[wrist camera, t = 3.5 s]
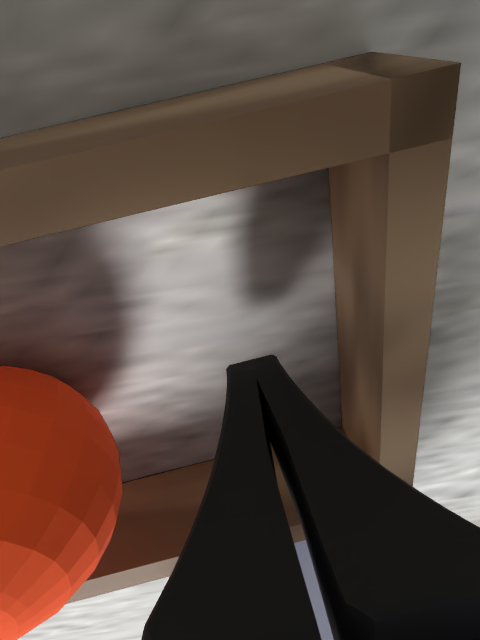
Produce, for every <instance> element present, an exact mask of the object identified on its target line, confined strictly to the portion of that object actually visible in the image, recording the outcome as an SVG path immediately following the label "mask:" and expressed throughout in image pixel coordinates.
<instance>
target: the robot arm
mask: <svg viewBox="0 0 480 640" xmlns="http://www.w3.org/2000/svg"><path fill="white" fill-rule="evenodd" d="M226 371H227V394H226V404H225V411H224V417H223V424H222V429H221V434H220V439H219V443H218V447H217V452H216V456H215V460H214V464H213V467H212V471H211V474H210V478H209V481H208V484H207V487H206V490H205V493H204V496H203V499H202V502H201V504H200V507H199V510H198V513H197V516H196V518H195V521H194V523H193V526H192V528H191V531H190V533H189V536H188V538H187V540H186V542H185V545H184V547H183V549H182V551H181V554H180V556H179V558H178V560H177V563H176V565H175V567H174V569H173V571H172V573H171V575H170V578H169V580H168V582H167V583H166V585H165V587H164V589H163V591H162V593H161V595H160V597H159V599H158V601H157V603H156V605H155V607H154V608H153V610H152V612H151V614H150V616H149V618H148V620H147V622H146V624H145V627H144V631H143V635H142V640H480V527H478V526H476V525H474V524H472V523H471V522H469V521H467V520H465V519H464V518H462V517H460V516H459V515H457V514H455V513H453V512H452V511H450V510H448V509H447V508H445V507H443V506H442V505H440V504H438V503H437V502H435V501H434V500H432V499H431V498H429V497H427V496H426V495H424V494H423V493H421V492H419V491H418V490H416V489H415V488H414V487H412V486H411V485H409V484H408V483H406V482H405V481H404V480H402V479H401V478H399V477H398V476H396V475H395V474H393V473H392V472H391V471H389V470H388V469H386V468H385V467H384V466H382V465H381V464H380V463H378V462H377V461H376V460H374V459H373V458H372V457H371V456H369V455H368V454H367V453H365V452H364V451H363V450H362V449H361V448H359V447H358V446H357V445H356V444H355V443H353V442H352V441H351V440H350V439H349V438H348V437H347V436H345V435H344V434H343V433H342V432H341V431H340V430H339V429H338V428H337V427H336V426H335V425H333V424H332V423H331V422H330V421H329V420H328V419H327V418H326V417H325V416H324V415H323V414H322V413H321V412H320V411H319V410H318V409H317V408H316V407H315V405H314V404H313V403H312V402H311V401H310V400H309V399H308V398H307V397H306V396H305V395H304V393H303V392H302V391H301V390H300V389H299V388H298V387H297V385H296V384H295V383H294V382H293V380H292V379H291V378H290V377H289V375H288V374H287V373H286V371H285V370H284V368H283V367H282V365H281V364H280V362H279V361H278V359H277V357H276V356H274V355H268V356H264V357H260V358H256V359H252V360H248V361H244V362H240V363H236V364H232V365H229V366H228V368H227V369H226ZM270 442H271V444H270ZM271 445H272V448H273V450H274V453H275V456H276V458H277V461H278V464H279V466H280V469H281V472H282V474H283V477H284V479H285V482H286V485H287V487H288V490H289V493H290V495H291V498H292V501H293V503H294V506H295V508H296V511H297V514H298V517H299V520H300V523H301V526H302V529H303V532H304V536H305V539H306V540H304V541H300V542H297V543H294V541H293V538H292V534H291V531H290V527H289V524H288V520H287V517H286V513H285V510H284V506H283V503H282V499H281V495H280V492H279V488H278V484H277V478H276V473H275V467H274V461H273V455H272V449H271Z"/></svg>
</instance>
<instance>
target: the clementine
mask: <svg viewBox="0 0 480 640" xmlns="http://www.w3.org/2000/svg"><path fill="white" fill-rule="evenodd" d="M122 493H123V492H122V480H121V469H120V460H119V453H118V447H117V445H116V443H115V440H114V438H113V436H112V434H111V432H110V430H109V428H108V426H107V424H106V422H105V421H104V419H103V417H102V415H101V414H100V412H99V410H98V409H97V408H95V407H94V406H93V405H92V404H91V403H90V402H89V401H88V400H87V399H86V398H85V397H84V396H83V395H81V394H80V393H79V392H77V391H76V390H75V389H73V388H72V387H71V386H69V385H67V384H65V383H64V382H62V381H60V380H58V379H56V378H55V377H53V376H50V375H47V374H44V373H41V372H37V371H34V370H31V369H25V368H18V367H10V366H0V640H17V639H18V638H20V637H21V636H23V635H25V634H26V633H28V632H29V631H30V630H32V629H33V628H35V627H36V626H38V625H39V624H41V623H42V622H44V621H45V620H47V619H48V618H50V617H51V616H53V615H54V614H56V613H57V612H58V611H59V610H60V609H61V608H62V607H63V606H64V605H65V604H66V603H67V601H68V600H69V599H70V598H71V597H72V596H73V595H74V594H75V592H76V591H77V590H78V589H79V588H80V587H81V586H82V585H83V583H84V582H85V581H86V580H87V579H88V577H89V576H90V575H91V574H92V573H93V572H94V570H95V568H96V567H97V565H98V563H99V561H100V559H101V557H102V555H103V553H104V551H105V549H106V547H107V545H108V543H109V542H110V539H111V536H112V533H113V530H114V527H115V524H116V520H117V516H118V511H119V506H120V502H121V497H122Z"/></svg>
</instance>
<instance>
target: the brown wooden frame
mask: <svg viewBox="0 0 480 640" xmlns="http://www.w3.org/2000/svg"><path fill="white" fill-rule="evenodd" d="M460 66H461V63H459V62H451V61H442V60H434V59H426V58H418V57H409V56H401V55H393V54H384V53H376V52H370V53H366V54H362V55H357V56H353V57H349V58H344V59H340V60H336V61H332V62H327V63H323V64H319V65H314V66H310V67H306V68H301V69H297V70H293V71H288V72H284V73H280V74H275V75H271V76H267V77H263V78H258V79H254V80H250V81H245V82H241V83H237V84H232V85H228V86H224V87H219V88H215V89H211V90H207V91H202V92H198V93H194V94H189V95H185V96H181V97H176V98H172V99H168V100H163V101H159V102H155V103H150V104H146V105H142V106H138V107H133V108H129V109H125V110H120V111H116V112H112V113H107V114H103V115H99V116H94V117H90V118H86V119H82V120H77V121H73V122H69V123H64V124H60V125H56V126H51V127H47V128H43V129H38V130H34V131H30V132H26V133H21V134H17V135H13V136H8V137H4V138H0V246H4V245H9V244H13V243H17V242H21V241H25V240H29V239H34V238H38V237H42V236H46V235H50V234H54V233H59V232H63V231H67V230H71V229H75V228H79V227H84V226H88V225H92V224H96V223H100V222H104V221H109V220H113V219H117V218H121V217H125V216H129V215H134V214H138V213H142V212H146V211H150V210H155V209H159V208H163V207H167V206H171V205H175V204H180V203H184V202H188V201H192V200H196V199H200V198H205V197H209V196H213V195H217V194H221V193H225V192H230V191H234V190H238V189H242V188H246V187H250V186H255V185H259V184H263V183H267V182H271V181H275V180H280V179H284V178H288V177H292V176H296V175H301V174H305V173H309V172H313V171H317V170H321V169H326V168H328V169H329V187H330V206H331V224H332V242H333V261H334V279H335V298H336V316H337V334H338V353H339V371H340V389H341V408H342V427H338V429H339V430H340V431H341V432H342V433H343V434H344V435H345V436H347V437H348V438H349V439H350V440H351V441H352V442H353V443H355V444H356V445H357V446H358V447H359V448H361V449H362V450H363V451H364V452H365V453H367V454H368V455H369V456H371V457H372V458H373V459H374V460H376V461H377V462H378V463H380V464H381V465H382V466H384V467H385V468H386V469H388V470H389V471H391V472H392V473H393V474H395V475H396V476H398V477H399V478H401V479H402V480H404V481H405V482H406V483H408V484H409V485H411V486H412V487H413V478H414V469H415V460H416V452H417V443H418V434H419V425H420V416H421V408H422V399H423V390H424V381H425V373H426V364H427V355H428V346H429V338H430V329H431V320H432V311H433V303H434V294H435V285H436V276H437V268H438V259H439V250H440V241H441V232H442V224H443V215H444V206H445V197H446V189H447V180H448V171H449V162H450V154H451V145H452V136H453V127H454V119H455V110H456V101H457V92H458V84H459V75H460ZM271 449H272V455H273V461H274V467H275V473H276V478H277V484H278V488H279V492H280V495H281V499H282V503H283V506H284V510H285V513H286V517H287V520H288V524H289V527H290V531H291V534H292V538H293V541H294V543H297V542H300V541H304V540H306V539H305V536H304V532H303V529H302V526H301V523H300V520H299V517H298V514H297V511H296V508H295V506H294V503H293V501H292V498H291V495H290V493H289V490H288V487H287V485H286V482H285V479H284V477H283V474H282V472H281V469H280V466H279V464H278V461H277V458H276V456H275V453H274V450H273V448H272V445H271ZM213 464H214V460H211V461H207V462H203V463H199V464H195V465H191V466H188V467H184V468H180V469H176V470H172V471H168V472H164V473H161V474H157V475H153V476H149V477H145V478H141V479H137V480H133V481H130V482H126V483H122V492H123V493H122V497H121V502H120V506H119V511H118V516H117V520H116V524H115V527H114V530H113V533H112V536H111V539H110V542H109V543H108V545H107V547H106V549H105V551H104V553H103V555H102V557H101V559H100V561H99V563H98V565H97V567H96V568H95V570H94V572H93V573H92V574H91V575H90V576H89V577H88V579H87V580H86V581H85V582H84V583H83V585H82V586H81V587H80V588H79V589H78V590H77V591H76V592H75V594H74V595H73V596H72V597H71V598H70V599H69V600H68V601H67V603H66V604H68V603H71V602H75V601H79V600H83V599H86V598H90V597H94V596H98V595H101V594H105V593H109V592H113V591H116V590H120V589H124V588H128V587H131V586H135V585H139V584H143V583H146V582H150V581H154V580H158V579H161V578H165V577H169V576H170V575H171V573H172V571H173V569H174V567H175V565H176V563H177V560H178V558H179V556H180V554H181V551H182V549H183V547H184V545H185V542H186V540H187V538H188V536H189V533H190V531H191V528H192V526H193V523H194V521H195V518H196V516H197V513H198V510H199V507H200V504H201V502H202V499H203V496H204V493H205V490H206V487H207V484H208V481H209V478H210V474H211V471H212V467H213Z"/></svg>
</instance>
